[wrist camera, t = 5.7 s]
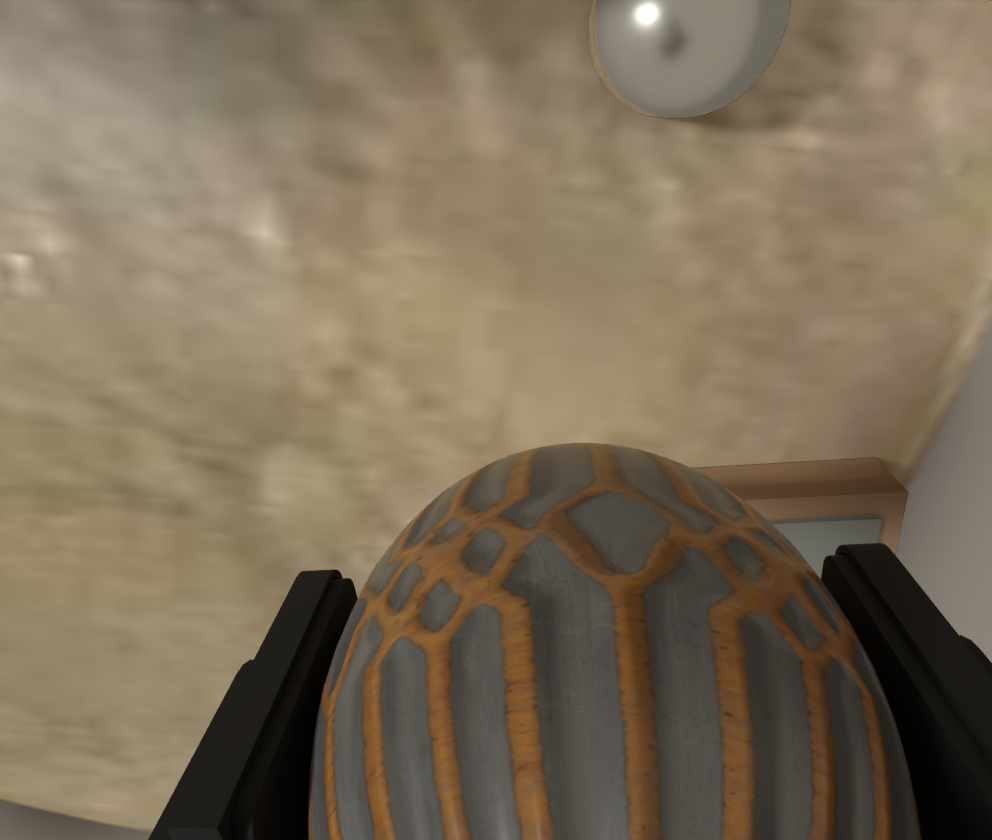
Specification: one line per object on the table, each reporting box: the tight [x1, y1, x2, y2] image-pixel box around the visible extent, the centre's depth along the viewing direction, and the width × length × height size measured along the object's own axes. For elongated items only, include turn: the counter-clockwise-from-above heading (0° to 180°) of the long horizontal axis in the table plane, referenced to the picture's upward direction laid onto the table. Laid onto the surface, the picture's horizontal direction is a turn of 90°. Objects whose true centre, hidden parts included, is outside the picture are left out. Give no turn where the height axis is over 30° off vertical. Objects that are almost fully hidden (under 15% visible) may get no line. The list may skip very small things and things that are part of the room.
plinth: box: [692, 458, 908, 579], centre depth 27 cm, size 11×11×3 cm
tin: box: [589, 0, 791, 118], centre depth 18 cm, size 5×5×3 cm
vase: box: [308, 443, 922, 840], centre depth 8 cm, size 7×7×9 cm
